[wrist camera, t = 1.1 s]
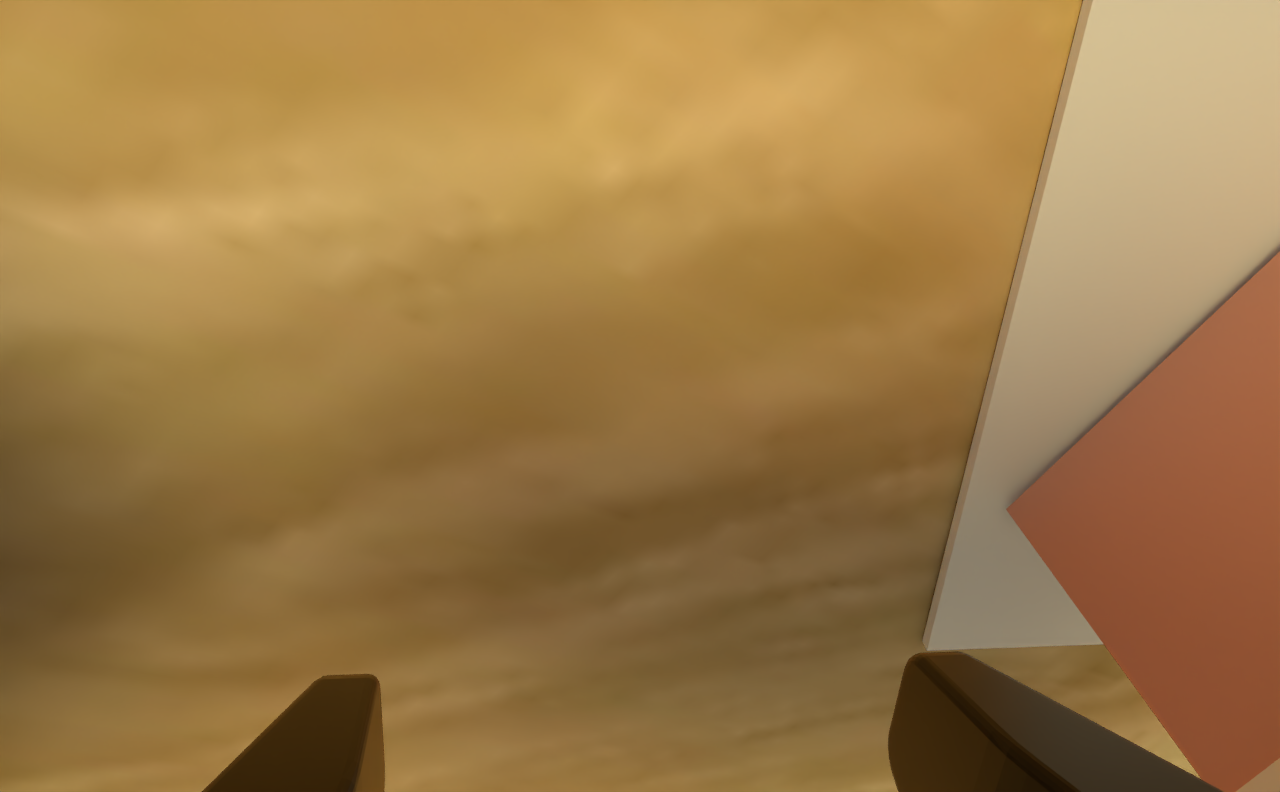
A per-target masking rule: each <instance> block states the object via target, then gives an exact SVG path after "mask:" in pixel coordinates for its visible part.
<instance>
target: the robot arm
mask: <svg viewBox="0 0 1280 792" xmlns="http://www.w3.org/2000/svg"><path fill="white" fill-rule="evenodd" d="M888 751H889V760H890V766H891V770H892V774H893V777H894V780H895V783H896V786H897V789H898V792H1224V791H1222V790H1220V789H1218V788H1216V787H1214V786H1213V785H1211V784H1209V783H1207V782H1205V781H1203V780H1201V779H1199V778H1198V777H1196V776H1194V775H1192V774H1190V773H1188V772H1186V771H1184V770H1183V769H1181V768H1179V767H1177V766H1175V765H1173V764H1171V763H1170V762H1168V761H1166V760H1164V759H1162V758H1160V757H1158V756H1156V755H1155V754H1153V753H1151V752H1149V751H1147V750H1145V749H1143V748H1141V747H1140V746H1138V745H1136V744H1134V743H1132V742H1130V741H1128V740H1126V739H1125V738H1123V737H1121V736H1119V735H1117V734H1115V733H1113V732H1112V731H1110V730H1108V729H1106V728H1104V727H1102V726H1100V725H1098V724H1097V723H1095V722H1093V721H1091V720H1089V719H1087V718H1085V717H1083V716H1082V715H1080V714H1078V713H1076V712H1074V711H1072V710H1070V709H1069V708H1067V707H1065V706H1063V705H1061V704H1059V703H1057V702H1055V701H1054V700H1052V699H1050V698H1048V697H1046V696H1044V695H1042V694H1041V693H1039V692H1037V691H1035V690H1033V689H1031V688H1029V687H1027V686H1026V685H1024V684H1022V683H1020V682H1018V681H1016V680H1014V679H1012V678H1011V677H1009V676H1007V675H1005V674H1003V673H1001V672H999V671H998V670H996V669H994V668H992V667H990V666H988V665H986V664H984V663H983V662H981V661H979V660H977V659H975V658H973V657H971V656H970V655H967V654H964V653H961V652H933V653H918V654H915V655H914V656H912V657H911V658H910V659H909V660H908V662H907V664H906V666H905V669H904V672H903V676H902V681H901V685H900V689H899V693H898V697H897V701H896V705H895V709H894V714H893V718H892V722H891V726H890V731H889V737H888ZM384 784H385V761H384V742H383V724H382V707H381V691H380V683H379V681H378V679H377V678H376V677H375V676H374V675H372V674H352V675H327V676H322V677H321V678H319V679H317V680H316V681H314V682H313V683H312V684H311V685H310V686H309V687H308V688H307V689H306V690H305V691H304V692H303V693H302V694H301V695H300V696H299V697H298V698H297V699H296V700H295V701H294V702H293V703H292V704H291V705H290V706H289V707H288V708H287V709H286V710H285V711H284V712H283V713H282V714H281V715H280V716H279V717H278V718H277V719H276V720H275V721H273V722H272V723H271V724H270V725H269V726H268V727H267V728H266V729H265V730H264V731H263V732H262V733H261V734H260V735H259V736H258V737H257V738H256V739H255V740H254V741H253V742H252V743H251V744H250V745H249V746H248V747H247V748H246V749H245V750H244V751H243V752H242V753H241V754H240V755H239V756H238V757H237V758H236V759H235V760H234V761H233V762H232V763H231V764H230V765H229V766H228V767H227V768H225V769H224V770H223V771H222V772H221V773H220V774H219V775H218V776H217V777H216V778H215V779H214V780H213V781H212V782H211V783H210V784H209V785H208V786H207V787H206V788H205V789H204V790H203V791H202V792H384Z"/></svg>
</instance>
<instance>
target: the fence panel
mask: <svg viewBox="0 0 1280 792" xmlns="http://www.w3.org/2000/svg"><path fill="white" fill-rule="evenodd" d="M1006 510H1007V512H1008V513H1009V514H1010V516H1011V517H1012V518H1013V520H1014V521H1015V523H1016V524H1017V525H1018V527H1019V528H1020V529H1021V531H1022V532H1023V534H1024V535H1025V536H1026V538H1027V539H1028V540H1029V542H1030V543H1031V545H1032V546H1033V547H1034V549H1035V550H1036V552H1037V553H1038V554H1039V556H1040V557H1041V558H1042V560H1043V561H1044V563H1045V564H1046V565H1047V567H1048V568H1049V569H1050V571H1051V572H1052V574H1053V575H1054V576H1055V578H1056V579H1057V580H1058V582H1059V583H1060V585H1061V586H1062V587H1063V589H1064V590H1065V591H1066V593H1067V594H1068V596H1069V597H1070V598H1071V600H1072V601H1073V603H1074V604H1075V605H1076V607H1077V608H1078V609H1079V611H1080V612H1081V614H1082V615H1083V616H1084V618H1085V619H1086V620H1087V622H1088V623H1089V625H1090V626H1091V627H1092V629H1093V630H1094V631H1095V633H1096V634H1097V636H1098V637H1099V638H1100V640H1101V641H1102V643H1103V644H1104V645H1105V647H1106V648H1107V649H1108V651H1109V652H1110V654H1111V655H1112V656H1113V658H1114V659H1115V660H1116V662H1117V663H1118V665H1119V666H1120V667H1121V669H1122V670H1123V671H1124V673H1125V674H1126V676H1127V677H1128V678H1129V680H1130V681H1131V682H1132V684H1133V685H1134V687H1135V688H1136V689H1137V691H1138V692H1139V694H1140V695H1141V696H1142V698H1143V699H1144V700H1145V702H1146V703H1147V705H1148V706H1149V707H1150V709H1151V710H1152V711H1153V713H1154V714H1155V716H1156V717H1157V718H1158V720H1159V721H1160V722H1161V724H1162V725H1163V727H1164V728H1165V729H1166V731H1167V732H1168V734H1169V735H1170V736H1171V738H1172V739H1173V740H1174V742H1175V743H1176V745H1177V746H1178V747H1179V749H1180V750H1181V751H1182V753H1183V754H1184V756H1185V757H1186V758H1187V760H1188V761H1189V762H1190V764H1191V765H1192V767H1193V768H1194V769H1195V771H1196V772H1197V773H1198V775H1199V776H1200V778H1201V779H1202V780H1203V781H1205V782H1207V783H1209V784H1211V785H1213V786H1214V787H1216V788H1218V789H1220V790H1222V791H1224V792H1280V252H1278V253H1277V254H1276V255H1275V256H1274V257H1273V258H1272V259H1271V260H1270V261H1269V262H1268V263H1267V264H1266V265H1265V266H1264V267H1263V268H1262V269H1260V270H1259V271H1258V272H1257V273H1256V274H1255V275H1254V276H1253V277H1252V278H1251V279H1250V280H1249V281H1248V282H1247V283H1246V284H1245V285H1243V286H1242V287H1241V288H1240V289H1239V290H1238V291H1237V292H1236V293H1235V294H1234V295H1233V296H1232V297H1231V298H1230V299H1229V300H1228V301H1227V302H1225V303H1224V304H1223V305H1222V306H1221V307H1220V308H1219V309H1218V310H1217V311H1216V312H1215V313H1214V314H1213V315H1212V316H1211V317H1210V318H1208V319H1207V320H1206V321H1205V322H1204V323H1203V324H1202V325H1201V326H1200V327H1199V328H1198V329H1197V330H1196V331H1195V332H1194V333H1193V334H1192V335H1190V336H1189V337H1188V338H1187V339H1186V340H1185V341H1184V342H1183V343H1182V344H1181V345H1180V346H1179V347H1178V348H1177V349H1176V350H1175V351H1173V352H1172V353H1171V354H1170V355H1169V356H1168V357H1167V358H1166V359H1165V360H1164V361H1163V362H1162V363H1161V364H1160V365H1159V366H1158V367H1157V368H1155V369H1154V370H1153V371H1152V372H1151V373H1150V374H1149V375H1148V376H1147V377H1146V378H1145V379H1144V380H1143V381H1142V382H1141V383H1140V384H1138V385H1137V386H1136V387H1135V388H1134V389H1133V390H1132V391H1131V392H1130V393H1129V394H1128V395H1127V396H1126V397H1125V398H1124V399H1123V400H1122V401H1120V402H1119V403H1118V404H1117V405H1116V406H1115V407H1114V408H1113V409H1112V410H1111V411H1110V412H1109V413H1108V414H1107V415H1106V416H1105V417H1103V418H1102V419H1101V420H1100V421H1099V422H1098V423H1097V424H1096V425H1095V426H1094V427H1093V428H1092V429H1091V430H1090V431H1089V432H1088V433H1087V434H1085V435H1084V436H1083V437H1082V438H1081V439H1080V440H1079V441H1078V442H1077V443H1076V444H1075V445H1074V446H1073V447H1072V448H1071V449H1070V450H1068V451H1067V452H1066V453H1065V454H1064V455H1063V456H1062V457H1061V458H1060V459H1059V460H1058V461H1057V462H1056V463H1055V464H1054V465H1053V466H1052V467H1050V468H1049V469H1048V470H1047V471H1046V472H1045V473H1044V474H1043V475H1042V476H1041V477H1040V478H1039V479H1038V480H1037V481H1036V482H1035V483H1033V484H1032V485H1031V486H1030V487H1029V488H1028V489H1027V490H1026V491H1025V492H1024V493H1023V494H1022V495H1021V496H1020V497H1019V498H1018V499H1017V500H1015V501H1014V502H1013V503H1012V504H1011V505H1010V506H1009V507H1008V508H1007V509H1006Z"/></svg>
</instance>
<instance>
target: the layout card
mask: <svg viewBox="0 0 1280 792" xmlns="http://www.w3.org/2000/svg"><path fill="white" fill-rule="evenodd" d="M1278 252H1280V0H1083V3H1082V7H1081V11H1080V15H1079V19H1078V23H1077V27H1076V31H1075V35H1074V39H1073V43H1072V47H1071V51H1070V55H1069V59H1068V63H1067V67H1066V71H1065V75H1064V79H1063V83H1062V87H1061V91H1060V95H1059V99H1058V103H1057V107H1056V111H1055V115H1054V119H1053V123H1052V127H1051V131H1050V135H1049V139H1048V143H1047V147H1046V150H1045V154H1044V158H1043V162H1042V166H1041V170H1040V174H1039V178H1038V182H1037V186H1036V190H1035V194H1034V198H1033V202H1032V206H1031V210H1030V214H1029V218H1028V222H1027V226H1026V230H1025V234H1024V238H1023V242H1022V246H1021V250H1020V254H1019V258H1018V262H1017V266H1016V270H1015V274H1014V278H1013V282H1012V286H1011V290H1010V294H1009V298H1008V302H1007V306H1006V310H1005V314H1004V318H1003V322H1002V326H1001V330H1000V334H999V338H998V342H997V346H996V350H995V354H994V357H993V361H992V365H991V369H990V373H989V377H988V381H987V385H986V389H985V393H984V397H983V401H982V405H981V409H980V413H979V417H978V421H977V425H976V429H975V433H974V437H973V441H972V445H971V449H970V453H969V457H968V461H967V465H966V469H965V473H964V477H963V481H962V485H961V489H960V493H959V497H958V501H957V505H956V509H955V513H954V517H953V521H952V525H951V529H950V533H949V537H948V541H947V545H946V549H945V553H944V557H943V560H942V564H941V568H940V572H939V576H938V580H937V584H936V588H935V592H934V596H933V600H932V604H931V608H930V612H929V616H928V620H927V624H926V628H925V632H924V636H923V640H922V642H923V644H924V646H925V648H926V650H927V651H933V650H961V649H989V648H1017V647H1044V646H1072V645H1100V644H1103V643H1102V641H1101V640H1100V638H1099V637H1098V636H1097V634H1096V633H1095V631H1094V630H1093V629H1092V627H1091V626H1090V625H1089V623H1088V622H1087V620H1086V619H1085V618H1084V616H1083V615H1082V614H1081V612H1080V611H1079V609H1078V608H1077V607H1076V605H1075V604H1074V603H1073V601H1072V600H1071V598H1070V597H1069V596H1068V594H1067V593H1066V591H1065V590H1064V589H1063V587H1062V586H1061V585H1060V583H1059V582H1058V580H1057V579H1056V578H1055V576H1054V575H1053V574H1052V572H1051V571H1050V569H1049V568H1048V567H1047V565H1046V564H1045V563H1044V561H1043V560H1042V558H1041V557H1040V556H1039V554H1038V553H1037V552H1036V550H1035V549H1034V547H1033V546H1032V545H1031V543H1030V542H1029V540H1028V539H1027V538H1026V536H1025V535H1024V534H1023V532H1022V531H1021V529H1020V528H1019V527H1018V525H1017V524H1016V523H1015V521H1014V520H1013V518H1012V517H1011V516H1010V514H1009V513H1008V512H1007V510H1006V509H1007V508H1008V507H1009V506H1010V505H1011V504H1012V503H1013V502H1014V501H1015V500H1017V499H1018V498H1019V497H1020V496H1021V495H1022V494H1023V493H1024V492H1025V491H1026V490H1027V489H1028V488H1029V487H1030V486H1031V485H1032V484H1033V483H1035V482H1036V481H1037V480H1038V479H1039V478H1040V477H1041V476H1042V475H1043V474H1044V473H1045V472H1046V471H1047V470H1048V469H1049V468H1050V467H1052V466H1053V465H1054V464H1055V463H1056V462H1057V461H1058V460H1059V459H1060V458H1061V457H1062V456H1063V455H1064V454H1065V453H1066V452H1067V451H1068V450H1070V449H1071V448H1072V447H1073V446H1074V445H1075V444H1076V443H1077V442H1078V441H1079V440H1080V439H1081V438H1082V437H1083V436H1084V435H1085V434H1087V433H1088V432H1089V431H1090V430H1091V429H1092V428H1093V427H1094V426H1095V425H1096V424H1097V423H1098V422H1099V421H1100V420H1101V419H1102V418H1103V417H1105V416H1106V415H1107V414H1108V413H1109V412H1110V411H1111V410H1112V409H1113V408H1114V407H1115V406H1116V405H1117V404H1118V403H1119V402H1120V401H1122V400H1123V399H1124V398H1125V397H1126V396H1127V395H1128V394H1129V393H1130V392H1131V391H1132V390H1133V389H1134V388H1135V387H1136V386H1137V385H1138V384H1140V383H1141V382H1142V381H1143V380H1144V379H1145V378H1146V377H1147V376H1148V375H1149V374H1150V373H1151V372H1152V371H1153V370H1154V369H1155V368H1157V367H1158V366H1159V365H1160V364H1161V363H1162V362H1163V361H1164V360H1165V359H1166V358H1167V357H1168V356H1169V355H1170V354H1171V353H1172V352H1173V351H1175V350H1176V349H1177V348H1178V347H1179V346H1180V345H1181V344H1182V343H1183V342H1184V341H1185V340H1186V339H1187V338H1188V337H1189V336H1190V335H1192V334H1193V333H1194V332H1195V331H1196V330H1197V329H1198V328H1199V327H1200V326H1201V325H1202V324H1203V323H1204V322H1205V321H1206V320H1207V319H1208V318H1210V317H1211V316H1212V315H1213V314H1214V313H1215V312H1216V311H1217V310H1218V309H1219V308H1220V307H1221V306H1222V305H1223V304H1224V303H1225V302H1227V301H1228V300H1229V299H1230V298H1231V297H1232V296H1233V295H1234V294H1235V293H1236V292H1237V291H1238V290H1239V289H1240V288H1241V287H1242V286H1243V285H1245V284H1246V283H1247V282H1248V281H1249V280H1250V279H1251V278H1252V277H1253V276H1254V275H1255V274H1256V273H1257V272H1258V271H1259V270H1260V269H1262V268H1263V267H1264V266H1265V265H1266V264H1267V263H1268V262H1269V261H1270V260H1271V259H1272V258H1273V257H1274V256H1275V255H1276V254H1277V253H1278Z"/></svg>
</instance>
